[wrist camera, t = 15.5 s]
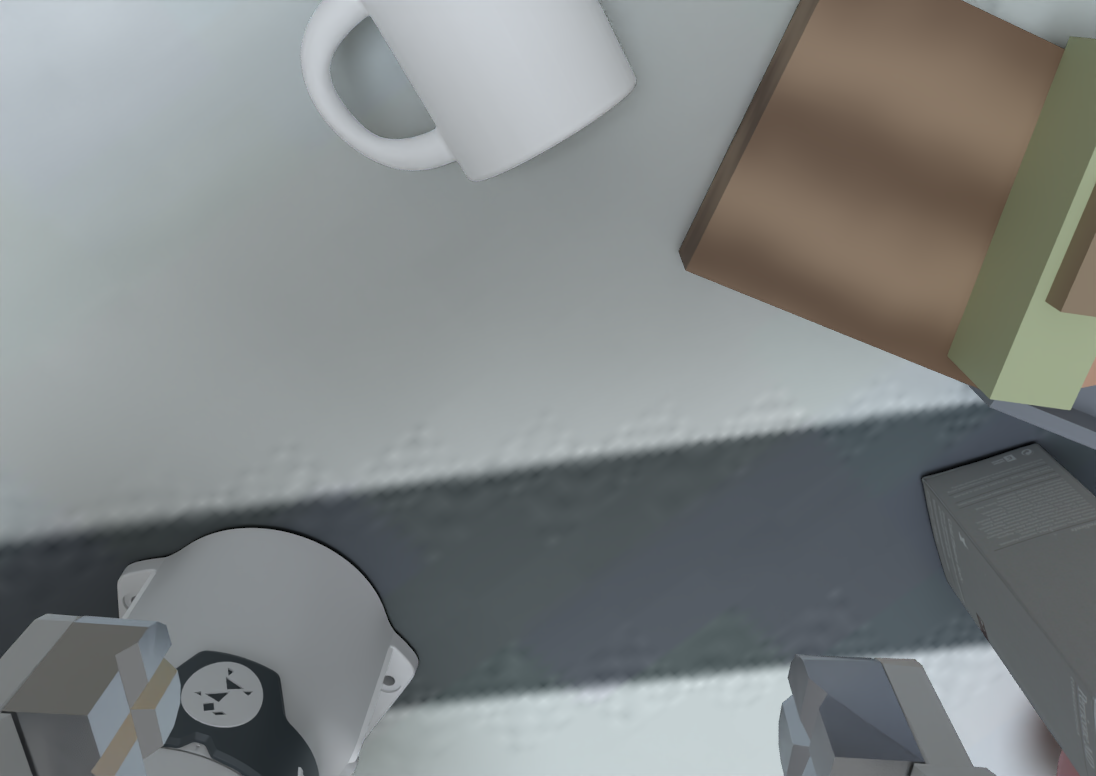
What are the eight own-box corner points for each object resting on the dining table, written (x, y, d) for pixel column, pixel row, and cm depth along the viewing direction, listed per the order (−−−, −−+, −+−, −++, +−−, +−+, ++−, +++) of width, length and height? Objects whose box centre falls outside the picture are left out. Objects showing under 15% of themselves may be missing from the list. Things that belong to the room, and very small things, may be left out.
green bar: (1019, 366, 39) (1086, 423, 34) (947, 355, 39) (1002, 412, 33) (1155, 49, 33) (1262, 60, 27) (1069, 36, 32) (1160, 45, 27)
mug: (520, -157, 33) (503, -197, 26) (633, 73, 37) (645, 94, 29) (285, 5, 36) (210, 9, 29) (411, 203, 40) (372, 251, 32)
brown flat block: (961, 366, 42) (987, 392, 39) (678, 251, 40) (685, 270, 37) (1145, 100, 36) (1191, 109, 33) (825, -51, 34) (846, -55, 31)
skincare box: (917, 473, 45) (1070, 698, 31) (1053, 433, 44) (1280, 649, 29) (944, 587, 48) (1095, 838, 34) (1072, 554, 47) (1284, 800, 33)
